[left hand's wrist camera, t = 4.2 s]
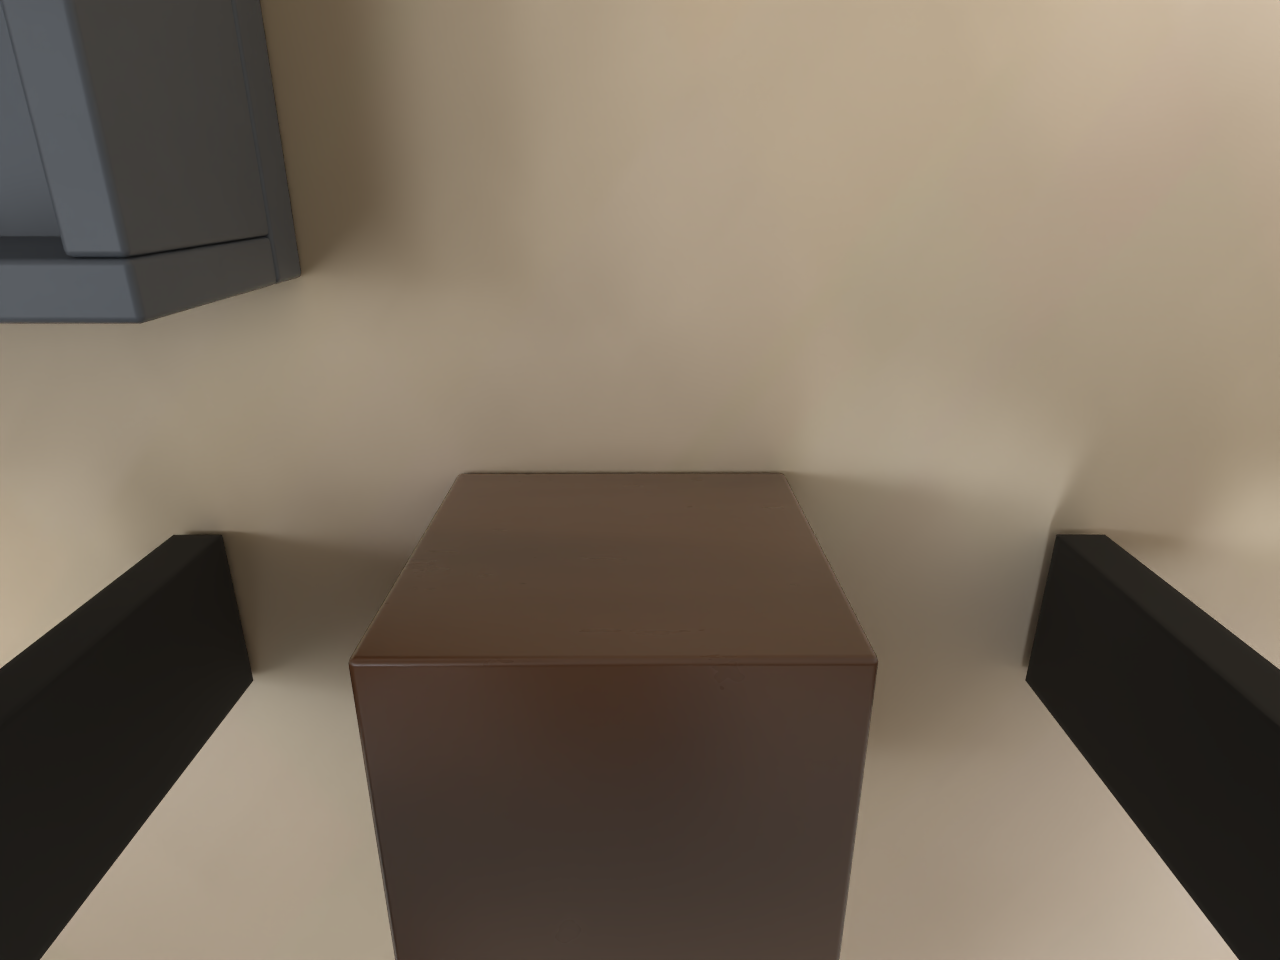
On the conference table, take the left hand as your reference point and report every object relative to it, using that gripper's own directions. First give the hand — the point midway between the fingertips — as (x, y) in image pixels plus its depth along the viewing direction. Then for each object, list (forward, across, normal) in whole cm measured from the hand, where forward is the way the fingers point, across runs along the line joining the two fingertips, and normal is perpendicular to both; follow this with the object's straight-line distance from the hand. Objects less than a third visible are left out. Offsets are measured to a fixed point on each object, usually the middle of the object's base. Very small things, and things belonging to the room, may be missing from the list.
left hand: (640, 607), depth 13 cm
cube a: (0, 0, 0) cm, 0 cm away
